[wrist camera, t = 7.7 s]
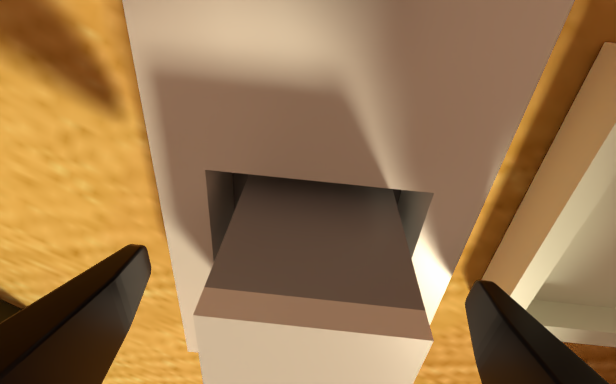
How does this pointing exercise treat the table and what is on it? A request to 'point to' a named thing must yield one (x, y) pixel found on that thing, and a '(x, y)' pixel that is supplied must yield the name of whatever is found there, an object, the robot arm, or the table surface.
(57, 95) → the table surface
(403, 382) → the plug
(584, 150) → the tray
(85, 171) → the table surface
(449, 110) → the power strip
